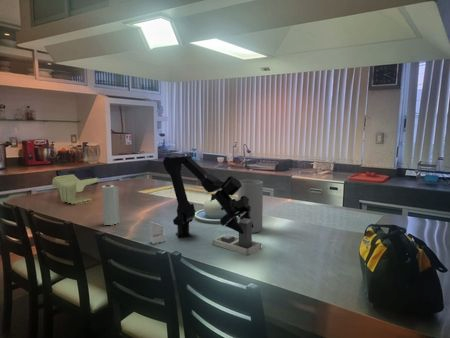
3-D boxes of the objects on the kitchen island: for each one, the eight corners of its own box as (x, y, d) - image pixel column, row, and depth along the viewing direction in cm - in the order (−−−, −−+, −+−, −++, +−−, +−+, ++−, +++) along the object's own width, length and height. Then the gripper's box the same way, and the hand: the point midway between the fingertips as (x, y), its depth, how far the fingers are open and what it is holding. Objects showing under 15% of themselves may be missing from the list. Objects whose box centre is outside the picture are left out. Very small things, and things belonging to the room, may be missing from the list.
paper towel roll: (101, 225, 168) (99, 186, 166) (109, 222, 174) (107, 184, 171) (112, 226, 166) (110, 187, 163) (119, 223, 171) (118, 185, 169)
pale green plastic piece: (53, 201, 223) (52, 176, 221) (75, 197, 236) (73, 174, 234) (77, 207, 207) (75, 180, 204) (99, 202, 220) (97, 177, 217)
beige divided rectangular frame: (261, 248, 136) (261, 240, 136) (247, 255, 129) (248, 247, 128) (226, 238, 148) (226, 231, 148) (212, 244, 141) (212, 237, 140)
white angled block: (141, 238, 141) (149, 220, 143) (159, 244, 147) (167, 227, 149) (144, 240, 138) (152, 222, 140) (162, 247, 144) (170, 229, 146)
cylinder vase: (261, 234, 154) (262, 184, 151) (236, 232, 156) (236, 183, 153) (262, 226, 166) (263, 180, 163) (239, 225, 168) (239, 179, 165)
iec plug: (238, 249, 135) (238, 220, 133) (243, 246, 138) (243, 217, 137) (246, 251, 133) (247, 221, 131) (251, 248, 136) (251, 219, 135)
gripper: (226, 194, 126) (250, 225, 122) (247, 187, 142) (269, 214, 138) (210, 210, 131) (232, 240, 127) (232, 201, 147) (253, 228, 143)
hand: (248, 230), depth 134 cm, fingers open, 9 cm apart
